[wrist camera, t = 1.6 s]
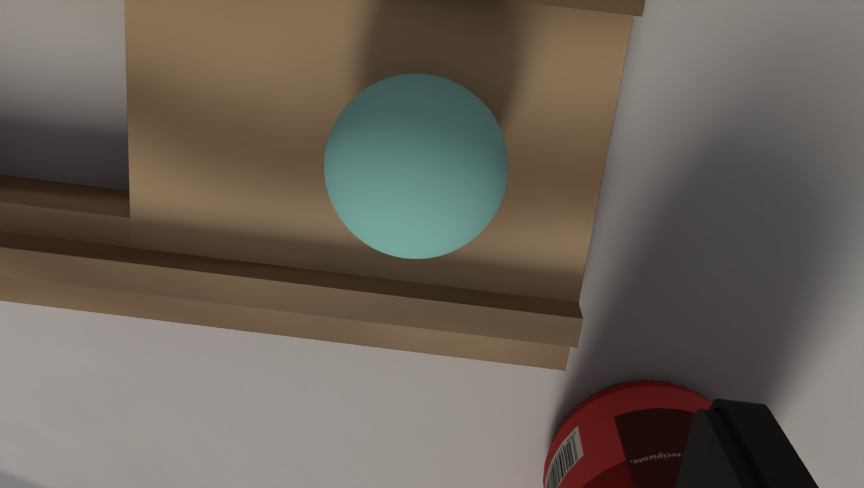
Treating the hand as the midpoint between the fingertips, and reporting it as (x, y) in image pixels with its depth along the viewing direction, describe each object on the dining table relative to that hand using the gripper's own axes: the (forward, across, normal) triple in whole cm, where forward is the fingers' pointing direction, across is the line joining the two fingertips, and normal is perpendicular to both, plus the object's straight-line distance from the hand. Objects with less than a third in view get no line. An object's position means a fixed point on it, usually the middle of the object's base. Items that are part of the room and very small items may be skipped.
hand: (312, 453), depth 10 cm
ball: (+13, 0, 0) cm, 13 cm away
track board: (+18, +7, 0) cm, 19 cm away
